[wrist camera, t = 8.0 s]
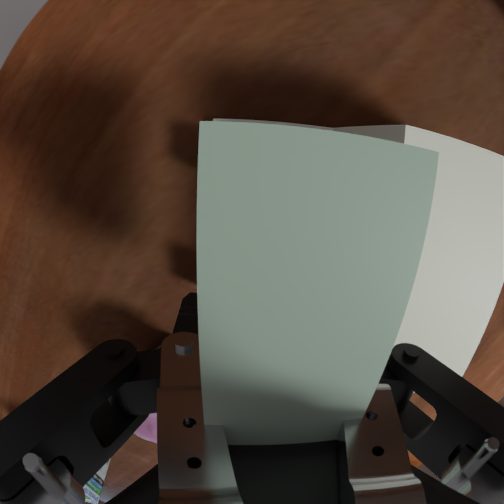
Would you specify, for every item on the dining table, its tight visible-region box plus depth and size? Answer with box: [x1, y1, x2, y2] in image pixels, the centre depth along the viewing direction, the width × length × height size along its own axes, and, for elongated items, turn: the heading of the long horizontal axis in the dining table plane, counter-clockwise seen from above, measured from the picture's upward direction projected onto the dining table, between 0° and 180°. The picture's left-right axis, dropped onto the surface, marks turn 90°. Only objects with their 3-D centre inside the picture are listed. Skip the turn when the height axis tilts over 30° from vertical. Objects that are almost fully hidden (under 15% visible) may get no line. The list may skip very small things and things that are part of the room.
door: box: [197, 121, 439, 445], centre depth 10 cm, size 3×13×9 cm, turn 177°
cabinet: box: [213, 118, 504, 393], centre depth 20 cm, size 19×16×12 cm
